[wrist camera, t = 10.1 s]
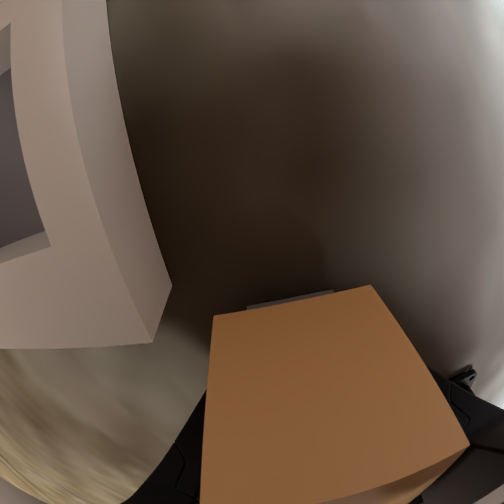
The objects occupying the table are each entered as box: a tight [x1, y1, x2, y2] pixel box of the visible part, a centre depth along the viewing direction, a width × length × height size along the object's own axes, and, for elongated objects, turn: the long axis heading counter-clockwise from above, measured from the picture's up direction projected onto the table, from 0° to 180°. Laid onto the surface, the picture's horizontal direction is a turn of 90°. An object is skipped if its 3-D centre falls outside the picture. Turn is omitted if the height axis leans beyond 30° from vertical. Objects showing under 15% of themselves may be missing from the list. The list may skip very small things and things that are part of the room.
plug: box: [200, 285, 470, 504], centre depth 8 cm, size 5×5×8 cm
